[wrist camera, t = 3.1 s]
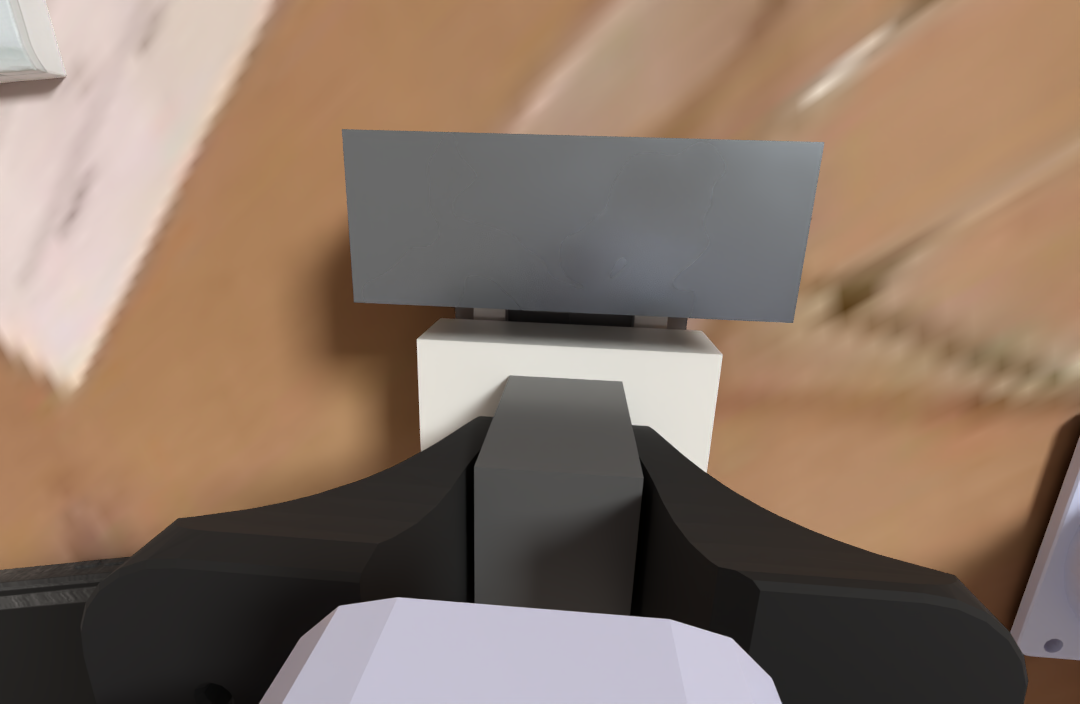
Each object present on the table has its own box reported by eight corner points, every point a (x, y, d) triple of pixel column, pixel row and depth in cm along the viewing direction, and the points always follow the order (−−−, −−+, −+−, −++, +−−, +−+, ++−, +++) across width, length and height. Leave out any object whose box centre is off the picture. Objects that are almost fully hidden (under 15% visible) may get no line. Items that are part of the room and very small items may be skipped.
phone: (277, 741, 19) (-75, 761, 21) (293, 712, 21) (-43, 733, 22) (204, 560, 17) (-181, 598, 19) (226, 538, 18) (-140, 576, 20)
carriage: (701, 330, 13) (798, 441, 7) (679, 511, 14) (745, 724, 9) (440, 318, 13) (334, 413, 8) (444, 494, 15) (357, 688, 9)
